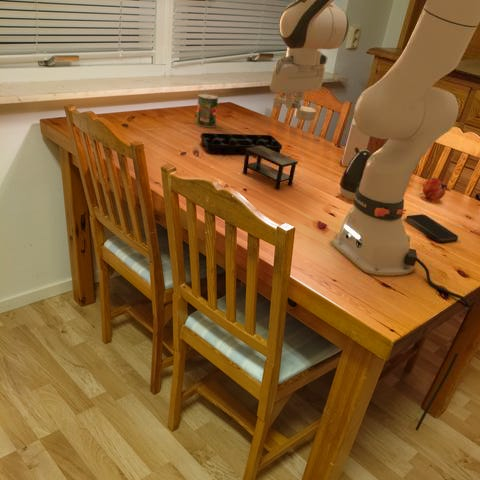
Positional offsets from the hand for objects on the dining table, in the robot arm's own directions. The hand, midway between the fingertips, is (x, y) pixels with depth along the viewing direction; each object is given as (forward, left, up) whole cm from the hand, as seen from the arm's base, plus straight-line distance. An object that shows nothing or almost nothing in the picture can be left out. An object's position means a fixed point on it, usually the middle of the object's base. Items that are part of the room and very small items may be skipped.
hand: (292, 107), depth 144 cm
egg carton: (+29, +5, -23) cm, 37 cm away
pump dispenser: (-13, -21, -23) cm, 33 cm away
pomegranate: (-13, -50, -23) cm, 56 cm away
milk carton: (+17, -35, -23) cm, 45 cm away
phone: (-35, -36, -23) cm, 55 cm away
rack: (+1, +4, -23) cm, 23 cm away
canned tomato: (+58, +12, -23) cm, 64 cm away
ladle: (0, 0, -2) cm, 2 cm away
